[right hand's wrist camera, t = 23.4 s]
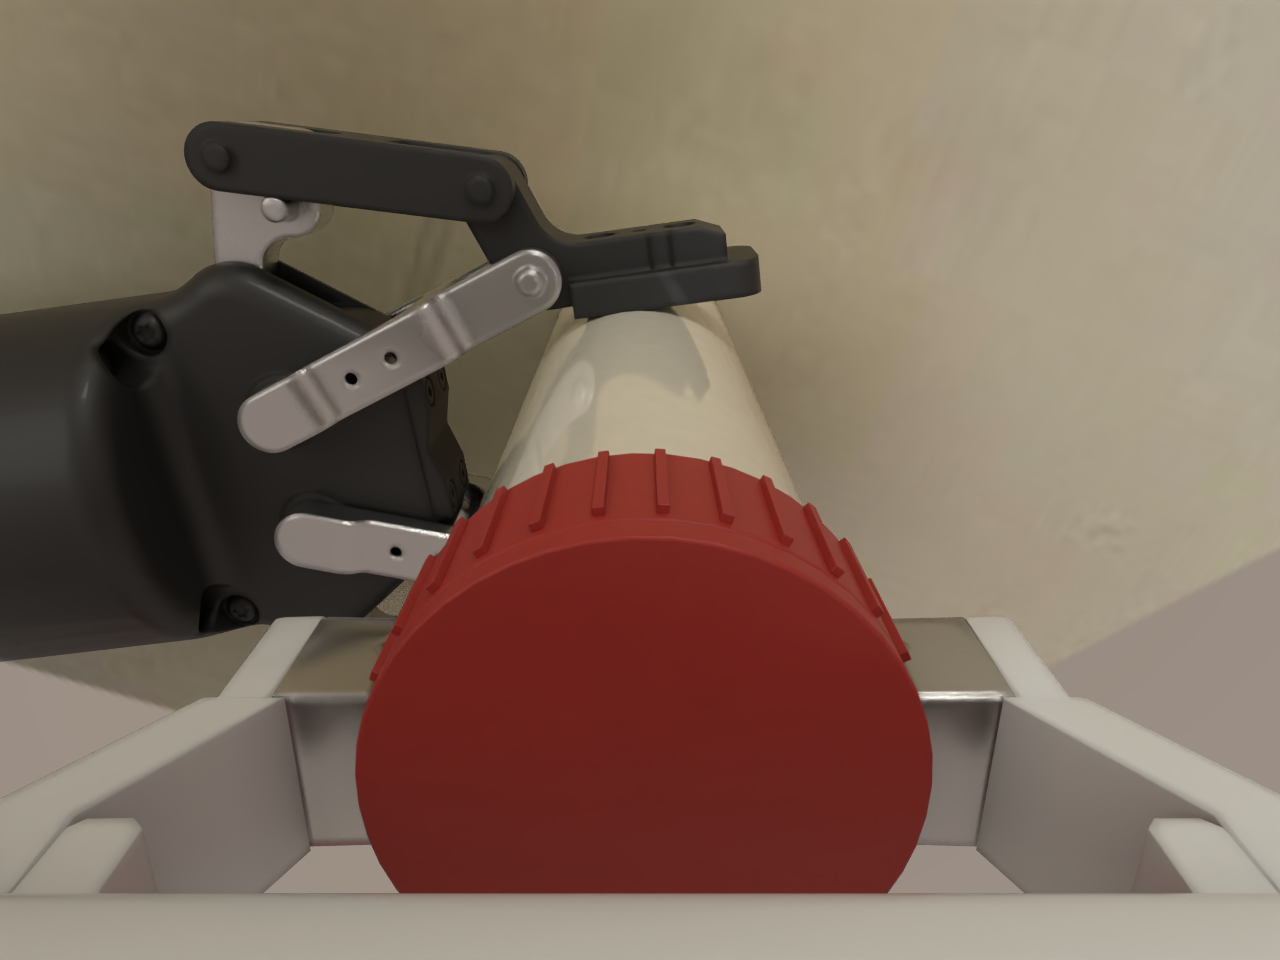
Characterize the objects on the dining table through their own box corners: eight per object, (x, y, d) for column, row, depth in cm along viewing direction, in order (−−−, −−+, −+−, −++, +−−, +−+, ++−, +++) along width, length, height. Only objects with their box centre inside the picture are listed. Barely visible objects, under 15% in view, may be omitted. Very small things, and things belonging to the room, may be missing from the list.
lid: (729, 342, 9) (753, 403, 7) (966, 733, 10) (1038, 867, 9) (299, 606, 10) (218, 722, 8) (578, 921, 12) (566, 1078, 10)
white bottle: (550, 258, 25) (374, 532, 8) (724, 253, 25) (899, 519, 8) (561, 423, 26) (434, 924, 10) (723, 418, 26) (865, 915, 10)
